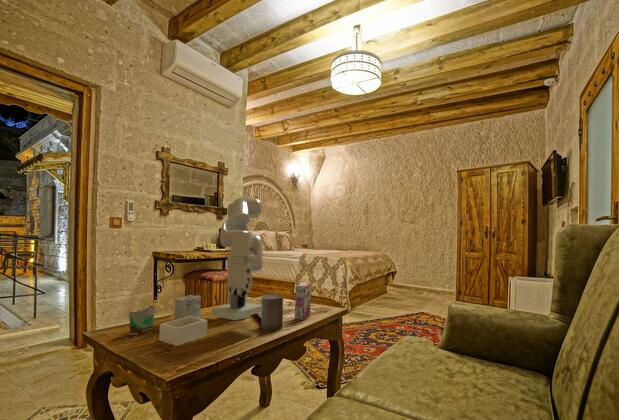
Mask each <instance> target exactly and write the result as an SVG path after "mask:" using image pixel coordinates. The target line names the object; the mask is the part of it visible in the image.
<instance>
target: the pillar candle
mask: <svg viewBox="0 0 619 420" xmlns="http://www.w3.org/2000/svg"><path fill="white" fill-rule="evenodd" d="M261 306H262V312H260V313H261V321H260V325H261V326H260V328H261V329H262V330H264V331H277V330H281V329H282V328H283V321H284V319H283V318H284V317H283V315H284V311H283V310H284V307H283V306H284V296H283V295H282V294H274V293H271V294H264V295H262V296H261Z"/></svg>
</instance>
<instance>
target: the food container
mask: <svg viewBox="0 0 619 420" xmlns="http://www.w3.org/2000/svg"><path fill="white" fill-rule="evenodd" d="M156 314H157V308H156V306H154V305H149V307H148V308H144V309H143V308H141V309H139V310H138V311H129V313H128V318H129V335H130V336H131V335H132V336H134V335H135V336H137V335H138V336H139V335H145V334H148V333H151V332H152V331H153V326H154V320H155V315H156Z"/></svg>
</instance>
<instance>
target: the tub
mask: <svg viewBox="0 0 619 420" xmlns="http://www.w3.org/2000/svg"><path fill="white" fill-rule="evenodd" d="M190 323H192V324H190ZM187 324H189V325H187ZM183 325H185V326H183ZM207 335H208V319H205V318H202V317H198V318H197V317H193V316H189V317H185V318H181V319H177V320H170V321H167V322H162V323H159V335H158V336H159V338H158V340H159V341H160V342H162V343H166V344H169V345H173V346H175V347H177V346H180V345H183V344H186V343H189V342H192V341H195V340H197V339H200V338H203V337H204V338H205V337H206V336H207Z"/></svg>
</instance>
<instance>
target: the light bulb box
mask: <svg viewBox="0 0 619 420" xmlns="http://www.w3.org/2000/svg"><path fill="white" fill-rule="evenodd" d="M201 301H202V296H201V295H192V294H189V295H186V296H183V297H180V298H175V299H174V315H173V316H174V320H177V319H181V318H185V317H189V316H193V317H197V318H201V306H202V305H201Z"/></svg>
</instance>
